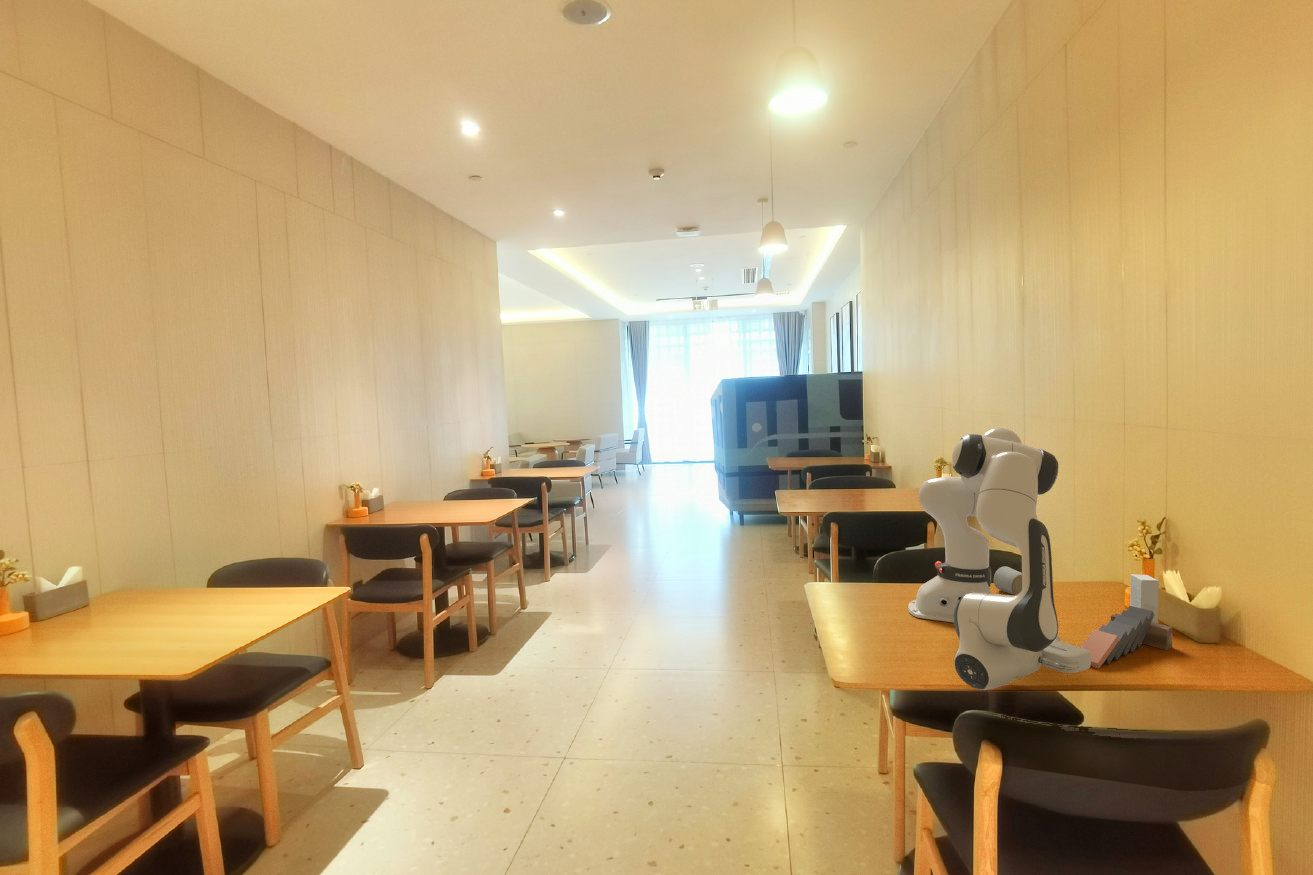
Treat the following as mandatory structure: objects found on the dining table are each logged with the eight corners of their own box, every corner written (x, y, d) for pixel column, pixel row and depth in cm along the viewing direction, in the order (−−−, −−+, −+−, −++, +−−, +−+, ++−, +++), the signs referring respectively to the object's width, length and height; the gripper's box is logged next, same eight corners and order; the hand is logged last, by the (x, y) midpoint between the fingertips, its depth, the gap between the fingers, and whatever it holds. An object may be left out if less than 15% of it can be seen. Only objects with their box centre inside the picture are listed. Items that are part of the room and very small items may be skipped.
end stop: (1166, 649, 156) (1166, 629, 156) (1110, 635, 166) (1110, 615, 166) (1171, 647, 157) (1172, 626, 157) (1116, 632, 168) (1116, 613, 167)
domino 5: (1131, 648, 154) (1146, 615, 158) (1107, 642, 158) (1123, 609, 162) (1133, 652, 155) (1148, 619, 158) (1109, 646, 159) (1125, 613, 162)
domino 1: (1097, 663, 146) (1117, 635, 150) (1073, 655, 150) (1093, 629, 155) (1099, 668, 146) (1118, 641, 151) (1075, 661, 151) (1095, 634, 155)
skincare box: (1158, 625, 172) (1159, 580, 171) (1140, 624, 173) (1141, 580, 172) (1146, 617, 178) (1147, 574, 177) (1128, 616, 179) (1129, 573, 178)
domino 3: (1115, 655, 150) (1133, 626, 154) (1091, 648, 154) (1110, 620, 158) (1117, 660, 150) (1135, 631, 155) (1093, 653, 155) (1111, 625, 159)
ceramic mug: (1012, 598, 197) (1013, 573, 197) (992, 590, 205) (993, 566, 205) (1041, 595, 200) (1042, 571, 199) (1020, 588, 208) (1021, 564, 207)
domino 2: (1107, 659, 148) (1126, 630, 152) (1083, 652, 152) (1102, 624, 156) (1108, 664, 148) (1127, 635, 153) (1084, 657, 153) (1104, 629, 157)
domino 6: (1137, 644, 156) (1152, 610, 159) (1114, 638, 160) (1129, 605, 163) (1139, 648, 156) (1154, 614, 160) (1116, 641, 160) (1131, 609, 164)
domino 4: (1123, 651, 152) (1140, 620, 156) (1100, 645, 156) (1117, 614, 160) (1125, 656, 153) (1142, 624, 157) (1102, 649, 157) (1118, 618, 161)
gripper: (1070, 655, 125) (1107, 639, 132) (971, 623, 142) (1008, 610, 150) (1070, 686, 125) (1106, 669, 133) (971, 651, 143) (1007, 637, 150)
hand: (1053, 638), depth 141 cm, fingers closed
